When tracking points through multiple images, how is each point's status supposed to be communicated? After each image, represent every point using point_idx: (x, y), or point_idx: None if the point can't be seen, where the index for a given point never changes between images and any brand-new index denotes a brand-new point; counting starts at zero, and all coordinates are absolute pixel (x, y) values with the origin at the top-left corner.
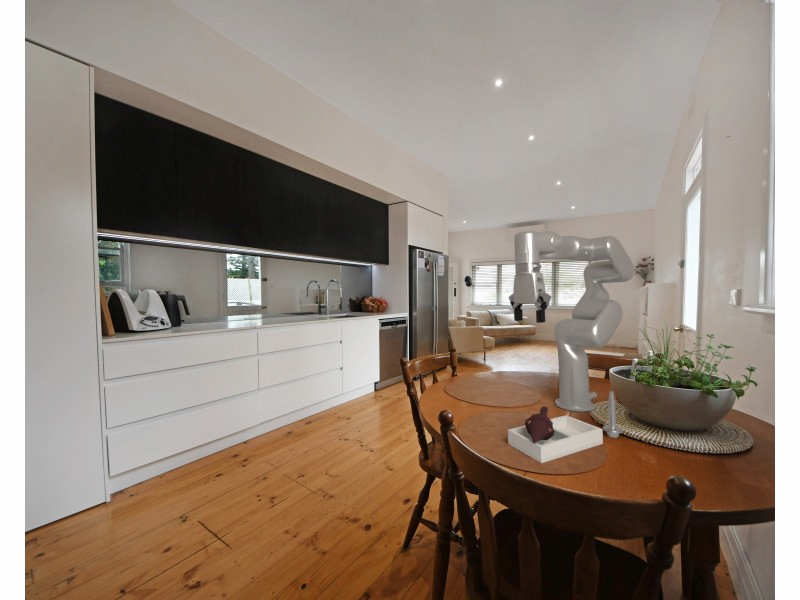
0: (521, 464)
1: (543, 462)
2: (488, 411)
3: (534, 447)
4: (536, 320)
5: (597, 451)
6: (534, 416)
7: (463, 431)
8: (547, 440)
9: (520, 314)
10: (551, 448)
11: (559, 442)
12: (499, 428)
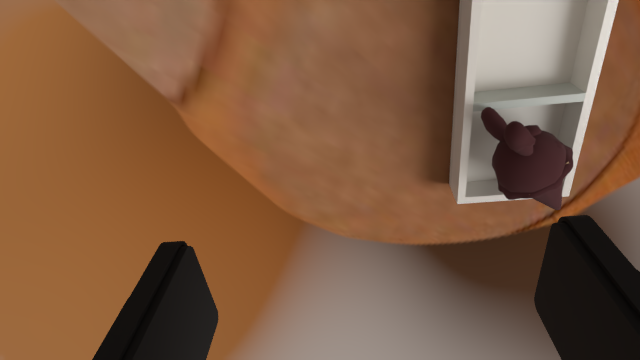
0: (529, 208)
1: None
2: (241, 115)
3: None
4: (545, 321)
5: None
6: (538, 195)
7: (345, 230)
8: (505, 109)
9: (174, 331)
10: None
11: (581, 143)
12: (366, 154)
